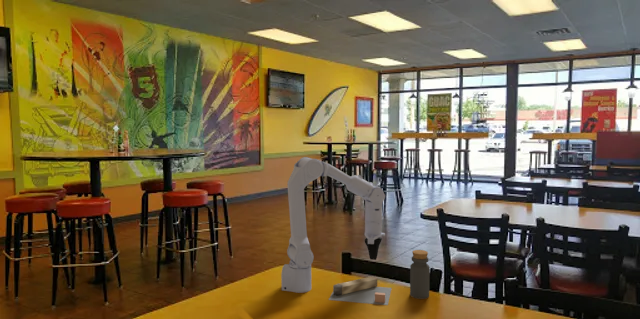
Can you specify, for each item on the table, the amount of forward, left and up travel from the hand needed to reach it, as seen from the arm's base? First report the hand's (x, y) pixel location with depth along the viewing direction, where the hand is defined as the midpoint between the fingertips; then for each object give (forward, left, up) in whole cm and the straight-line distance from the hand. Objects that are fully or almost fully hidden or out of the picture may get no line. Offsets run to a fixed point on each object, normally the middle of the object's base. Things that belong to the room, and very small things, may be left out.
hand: (373, 259), depth 151 cm
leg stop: (+4, -20, -7) cm, 21 cm away
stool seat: (-2, -15, -8) cm, 17 cm away
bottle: (+16, -12, -8) cm, 22 cm away
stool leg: (-4, -12, -6) cm, 15 cm away
